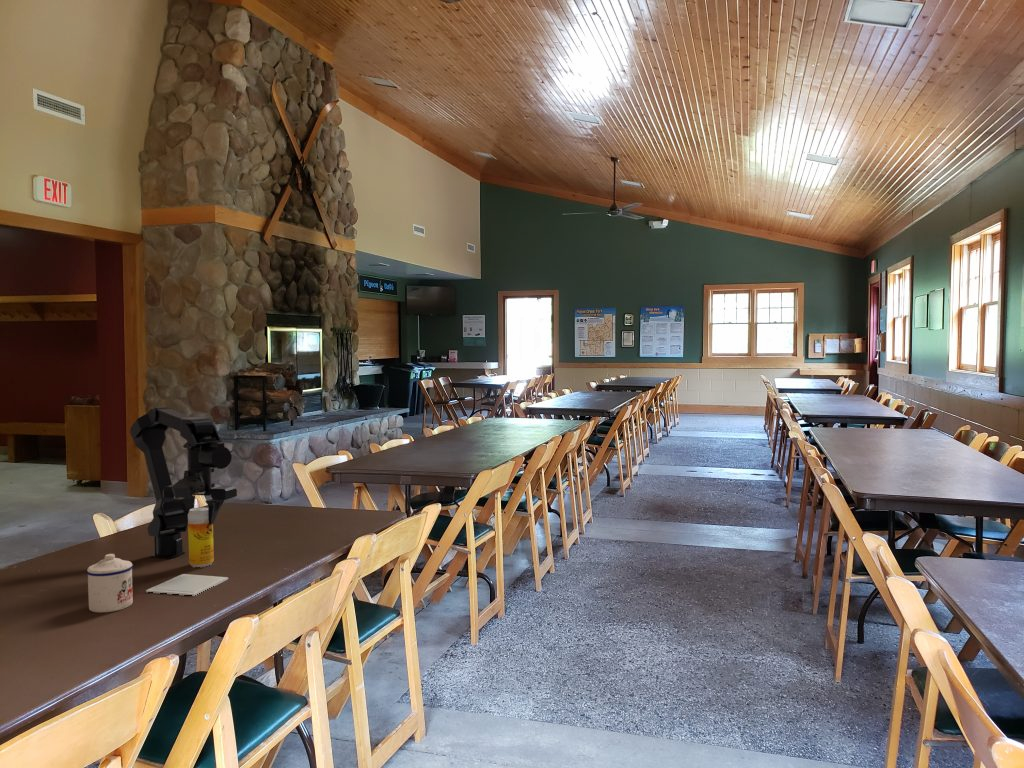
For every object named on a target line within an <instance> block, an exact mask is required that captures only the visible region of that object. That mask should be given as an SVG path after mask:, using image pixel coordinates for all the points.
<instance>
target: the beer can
mask: <svg viewBox="0 0 1024 768" xmlns="http://www.w3.org/2000/svg"><path fill="white" fill-rule="evenodd" d="M187 536H188V564H189V565H190V566H191V567H192V568H195V567H200V568H206V566H207V567H209V565H210V566H211V565H212V564H213V562H214V560H215V556H214V555H215V552H214V549H215V548H214V523H213V524H212V525H209V513H208V506H200V507H199V506H198V507H194V508H192V509H190V510H189V513H188V525H187Z"/></svg>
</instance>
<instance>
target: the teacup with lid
mask: <svg viewBox="0 0 1024 768" xmlns="http://www.w3.org/2000/svg"><path fill="white" fill-rule="evenodd" d="M104 555H105V556H104V558H103V559H101V560H99V561H98V562H97V563H94V564H92V565H89V567H88V568H87V570H86V575H87V586H88V587H87V590H88V591H87V594H88V609H89V611H90V612H93V613H100V614H101V613H110V612H111V613H112V612H117V611H120V610H121V611H122V610H124V609H126V608H129V607H130V606H131V605H132V604H133V601H134V600H133V599H134V597H133V596H134V595H133V568H134V564H133V563H132V562H131V561H129V560H125V559H121V558H119V557H116V555H115V553H108V554H104Z"/></svg>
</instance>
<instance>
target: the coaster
mask: <svg viewBox="0 0 1024 768" xmlns="http://www.w3.org/2000/svg"><path fill="white" fill-rule="evenodd" d="M228 580H229V577H227V576H217V575H216V576H214V575H201V574H190V573H182V574H179V575H178V576H175V577H173V578H171V579H168V580H166V581H164V582H162V583H160V584H157V585H155V586H152V587H149V588H148V589H145V593H148V592H153V593H152V594H160V593H167V594H166V595H172V594H179V595H178V596H184V595H192V596H191V597H196V596H198V595H200V594H201V592H202V593H203V591H204V592H206V591H208V590H210V589H212V588H214V587H216V586H218V585H220V584H221V583H224V582H225V581H228ZM213 586H214V587H213ZM211 587H212V588H211ZM209 588H210V589H209ZM207 589H208V590H207ZM205 590H206V591H205ZM199 593H200V594H199ZM197 594H198V595H197ZM195 595H196V596H195Z"/></svg>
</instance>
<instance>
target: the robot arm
mask: <svg viewBox="0 0 1024 768" xmlns="http://www.w3.org/2000/svg"><path fill="white" fill-rule="evenodd" d="M213 421H214V420H213V419H212V418H210V417H203V416H202V417H200V416H198V417H197V416H195V417H193V416H189V415H187V414H184V413H182V412H179V411H176V410H175V409H172V408H171V407H168V406H161V407H160V406H157V407H153V408H151V409H149V410H148V411H147V413H145V414H143V415H142V416H140V417H138V418H137V419H136V420H135V421H134V422H133V424H132V425H131V427H130V428H129V433H130V436H131V438H132V440H133V443H134V446H135V447H137V449H139V450H140V451H141V452H142V453H143V455H144V459H145V463H146V467H147V470H148V474H149V478H150V483H151V486H152V490H153V493H154V496H155V503H154V506H153V510H152V517H153V518H152V520H151V521H150V523H149V525H148V526H147V527H146V528H147V533H148V536H149V537H150V536H151V537H153V539H154V541H153V543H154V554H151V555H150V558H153V559H154V558H158V559H169V560H170V559H173V558H176V557H178V556H180V555H183V554H185V553H186V550H183V549H184V548H183V538H182V533H183V532H184V533H185V532H187V531H188V513H189V510H190V509H192V508H195V504H196V496H206V497H207V496H209V498H210V499H208V500H205V503H206V505H207V507H208V513H209V525H212V524H213V525H214V523H215V520H216V518H217V516H218V514H219V511H220V509H221V507H222V505H223V504H224V502H225V501H227V500H229V499H231V498H235V497H237V496H238V490H237V488H236V487H235V486H234V485H221V486H217V487H215V482H214V483H213V482H212V473H215V469H218V470H223V469H225V468H227V467H228V466H229V465H230V464H231V462H232V458H233V456H232V452H231V451H230V450H229V448H227V447H226V446H225V442H224V441H223V440H222V436H221V434H220V433H219V431H218V429H217V427H216V425H215V423H214V422H213ZM169 429H173V430H176V431H178V432H179V436H180V437H182V438H183V439H184V440H186V442H184V444H183V446H182V447H183V449H186V451H187V452H186V453H187V454H186V455H187V458H186V459H187V469H186V470H184V472H183V477H182V478H181V479H179V480H177V482H175V483H174V484H173V482H172V479H171V475H170V474H171V473H170V471H169V467H168V464H167V460H166V457H165V452H164V448H163V446H164V445H165V441H166V439H167V438H166V437H167V436H166V433H167V431H168V430H169Z"/></svg>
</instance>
